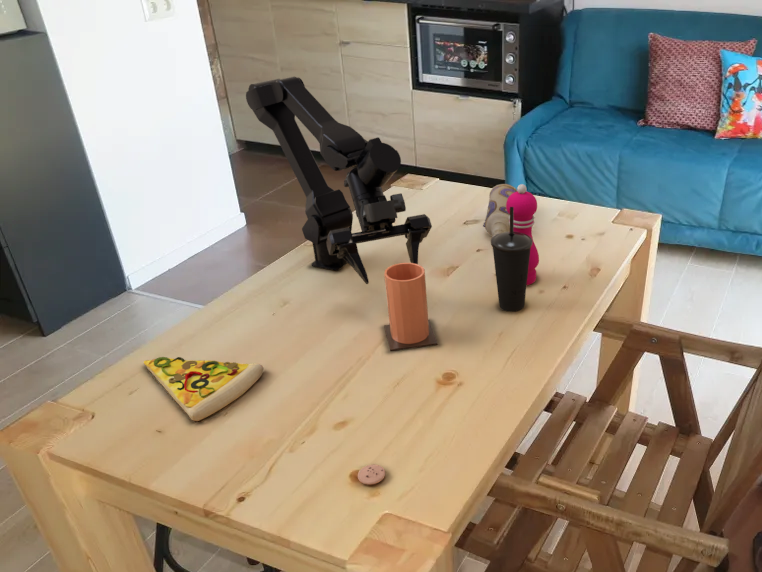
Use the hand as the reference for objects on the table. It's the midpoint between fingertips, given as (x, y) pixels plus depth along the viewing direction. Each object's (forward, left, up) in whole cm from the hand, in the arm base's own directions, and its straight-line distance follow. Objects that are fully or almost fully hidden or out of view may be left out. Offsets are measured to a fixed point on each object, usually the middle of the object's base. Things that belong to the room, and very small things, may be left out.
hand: (392, 278), depth 136 cm
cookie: (+17, -41, -8) cm, 45 cm away
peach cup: (+5, -5, -8) cm, 11 cm away
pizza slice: (-22, -31, -8) cm, 39 cm away
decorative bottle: (+4, +43, -8) cm, 44 cm away
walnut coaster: (+5, -5, -8) cm, 11 cm away
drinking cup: (+19, +11, -8) cm, 24 cm away
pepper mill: (+17, +22, -8) cm, 29 cm away
